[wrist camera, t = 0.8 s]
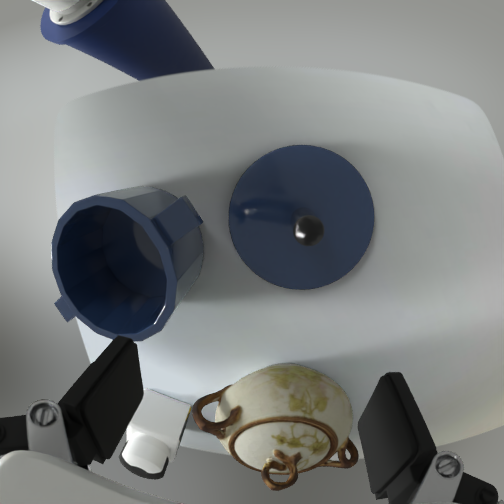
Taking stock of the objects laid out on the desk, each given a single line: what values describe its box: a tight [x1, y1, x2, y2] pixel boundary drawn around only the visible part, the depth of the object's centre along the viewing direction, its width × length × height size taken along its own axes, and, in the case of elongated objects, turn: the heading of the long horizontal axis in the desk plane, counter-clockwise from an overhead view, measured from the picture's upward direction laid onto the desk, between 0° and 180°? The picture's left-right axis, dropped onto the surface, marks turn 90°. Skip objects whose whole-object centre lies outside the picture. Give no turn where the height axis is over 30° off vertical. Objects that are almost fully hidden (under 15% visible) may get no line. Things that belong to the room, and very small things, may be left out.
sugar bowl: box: [192, 363, 358, 491], centre depth 25 cm, size 20×15×15 cm
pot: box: [51, 186, 204, 341], centre depth 25 cm, size 13×18×8 cm
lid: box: [229, 145, 374, 290], centre depth 24 cm, size 14×14×6 cm
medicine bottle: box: [119, 388, 191, 479], centre depth 30 cm, size 7×7×12 cm
